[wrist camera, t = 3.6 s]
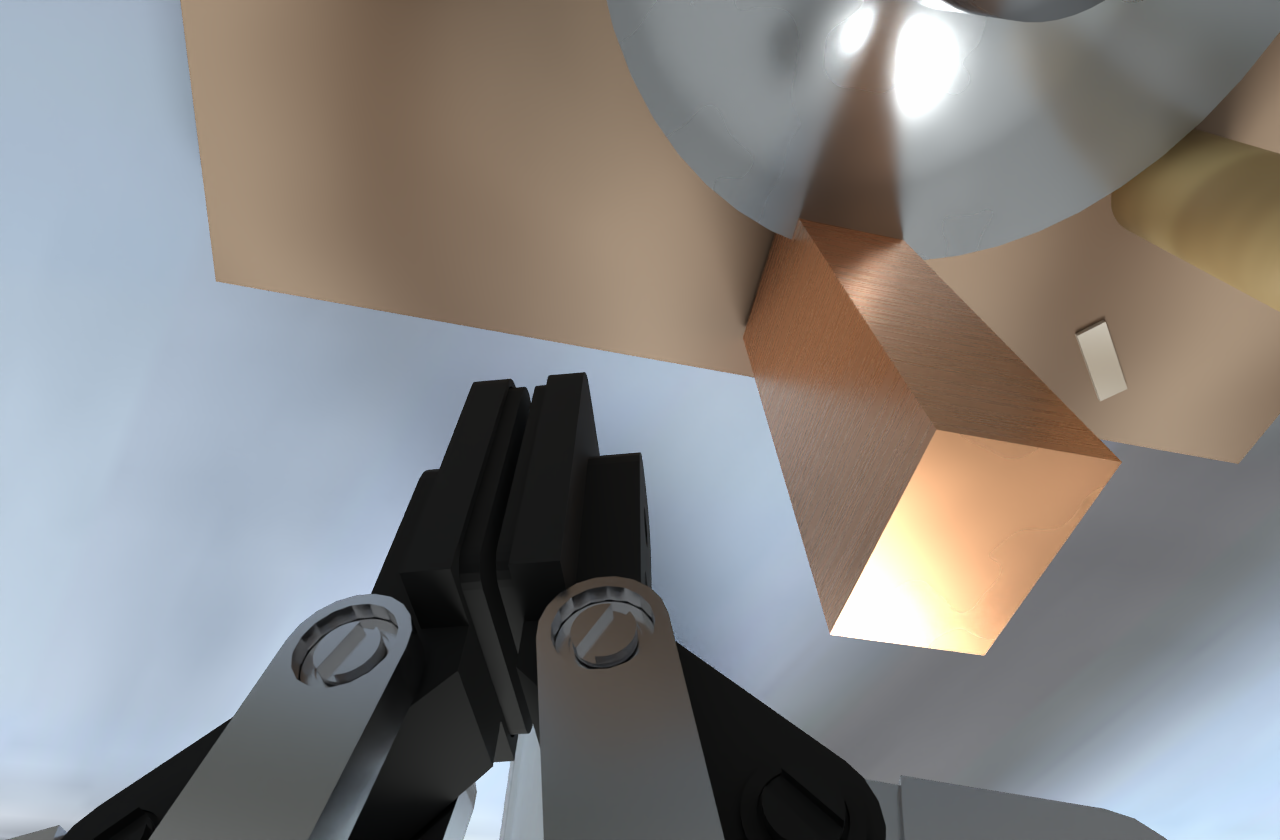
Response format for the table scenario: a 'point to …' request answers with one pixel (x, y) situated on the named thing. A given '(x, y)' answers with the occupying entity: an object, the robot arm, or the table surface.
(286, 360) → the table surface
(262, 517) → the table surface
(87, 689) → the table surface
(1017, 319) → the walnut board
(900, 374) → the flange plate
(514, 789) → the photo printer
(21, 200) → the table surface
